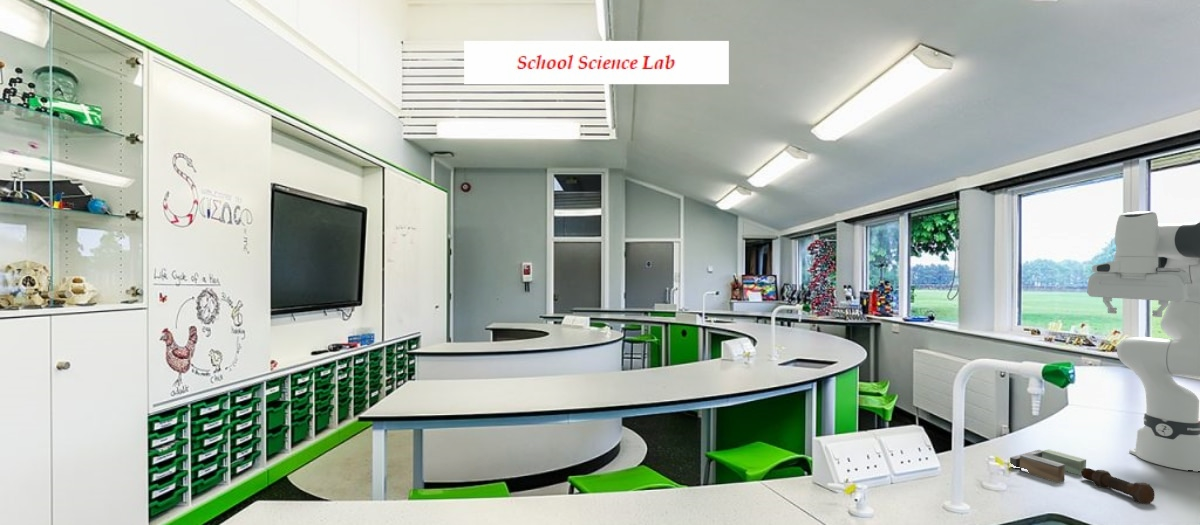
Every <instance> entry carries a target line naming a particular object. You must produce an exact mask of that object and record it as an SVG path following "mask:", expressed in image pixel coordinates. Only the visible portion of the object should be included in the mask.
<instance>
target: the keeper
mask: <svg viewBox="0 0 1200 525" xmlns="http://www.w3.org/2000/svg"><path fill="white" fill-rule="evenodd" d="M1010 463H1011V464H1013V465H1014V466H1016V467H1020V468H1024V469H1027V470H1028V472H1029V473H1028V474H1029V475H1033V476H1035V475H1036V476H1035V477H1039V478H1041V477H1042V479H1046V480H1048V479H1049V480H1048V481H1052V482H1054V481H1055V482H1054V483H1057V482H1058V483H1060V481H1061V482H1063V480H1064V481H1065V474H1066V472H1067V471H1068V473H1070V472H1071V474H1075V475H1077V474H1078V476H1082V475H1081V471H1084V470H1082V469H1083V468H1087V459H1086V458H1081V457H1078V456H1075V455H1071V454H1067V453H1063V452H1061V451H1056V450H1053V449H1044V450H1042V449H1036V450H1033V451H1028V452H1025V453H1022V454H1018V455H1015V456H1010V458H1009V464H1010ZM1020 468H1019V469H1020Z"/></svg>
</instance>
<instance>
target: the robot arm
mask: <svg viewBox="0 0 1200 525" xmlns="http://www.w3.org/2000/svg"><path fill="white" fill-rule="evenodd" d="M1114 244H1115V248H1116V251H1115V253H1114V258H1113V259H1114V260H1113V261H1112V260H1111V261H1108V262H1103V263H1099V264H1094V265H1093V266H1092V267H1091V271H1092V274H1091V275H1090V276H1089V278H1088V281H1087V285H1086V286H1087V287H1086V288H1087V289H1086V294H1087V295H1088V296H1089V297H1092V298H1093V297H1095V298H1102V303H1103V304H1104V305H1105V306H1106V308H1107V314H1115V315H1116V314H1117V310H1118V307H1116V306H1115V307H1114V306H1113V305H1112V303H1111V302H1112V301H1113V299H1124V300H1125V299H1126V300H1127V299H1128V300H1145V301H1158V302H1157V304H1158V306H1159V307H1157V308H1158V309H1156V310H1152V317H1155V318H1161V320H1160V321H1161V322H1160V327H1161V330H1162V331H1163V333H1164V334H1165V335H1167V336H1168V337H1169V338H1162V337H1161V338H1160V337H1150V336H1135V337H1134V336H1131V337H1130V336H1129V337H1125V338H1124V339H1122V340H1120V342H1119V344H1118V345H1117V348H1116V355H1117V358H1118V359H1119V361H1120V362H1121V363H1122V364H1123V365H1124V366H1126V367H1127V368H1128V369H1130V370H1131V371H1132V372H1133V373H1134V374H1135V375H1136V376H1137V377H1138V378H1139V380H1140V382H1141V383H1142V385H1143V388H1144V391H1145V392H1144V393H1145V403H1146V404H1145V407H1146V409H1145V410H1146V412H1145V413H1144V416H1143V425H1144V426H1143V427H1141V428H1139V429H1137V431H1136V441H1135V448H1130V449H1129V450H1128V453H1130V454H1131V455H1134V456H1136V457H1138V458H1140V459H1141V460H1144V461H1146V462H1148V463H1152V464H1156V465H1159V466H1162V467H1167V468H1171V469H1177V470H1183V471H1188V470H1193V471H1192V472H1198V471H1200V420H1199V417H1200V416H1199V415H1200V400H1199V397H1198V396H1197V394H1195V393H1194V392H1193V391H1191V390H1189V389H1188V388H1186V387H1184V386H1181V385H1180V384H1178V383H1177V382H1176V381H1175V380H1174V378H1173V375H1174V376H1182V377H1187V378H1188V377H1190V378H1196V379H1200V221H1195V222H1194V221H1193V222H1184V223H1183V222H1182V223H1159V220H1158V216H1157V213H1156V212H1154V211H1148V210H1147V211H1143V210H1142V211H1132V212H1130V211H1129V212H1123V213H1122V214H1120V215H1119V216H1118V219H1117V222H1116V225H1115V233H1114ZM1164 310H1165V311H1164ZM1163 311H1164V312H1163Z"/></svg>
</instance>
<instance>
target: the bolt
mask: <svg viewBox="0 0 1200 525" xmlns="http://www.w3.org/2000/svg"><path fill="white" fill-rule="evenodd" d="M1082 470H1084V471H1081V475H1080V476H1081V477H1083V479H1086V480H1088V481H1090V482H1092V483H1093V484H1094V485H1095V486H1096V487H1099V488H1105V489H1108V488H1109V489H1112V490H1115V491H1117V492H1120V493H1123V494H1126V495H1128V496H1129V497H1132V500H1133V501H1134V502H1135V503H1137V504H1139V505H1140V504H1141V505H1150V504H1152V502H1153V501H1154V500H1155V489H1154V487H1153V486H1151V485H1150V483H1147V482H1134V483H1133V482H1130V481H1127V480H1124V479H1121V478H1119V477H1115V476H1112V475H1111V473H1110V472H1109V471H1107V470H1105V469H1096V470H1095V469H1094V468H1093V469H1092V468H1089V467H1088V468H1087V467H1086V468H1083V469H1082Z"/></svg>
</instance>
